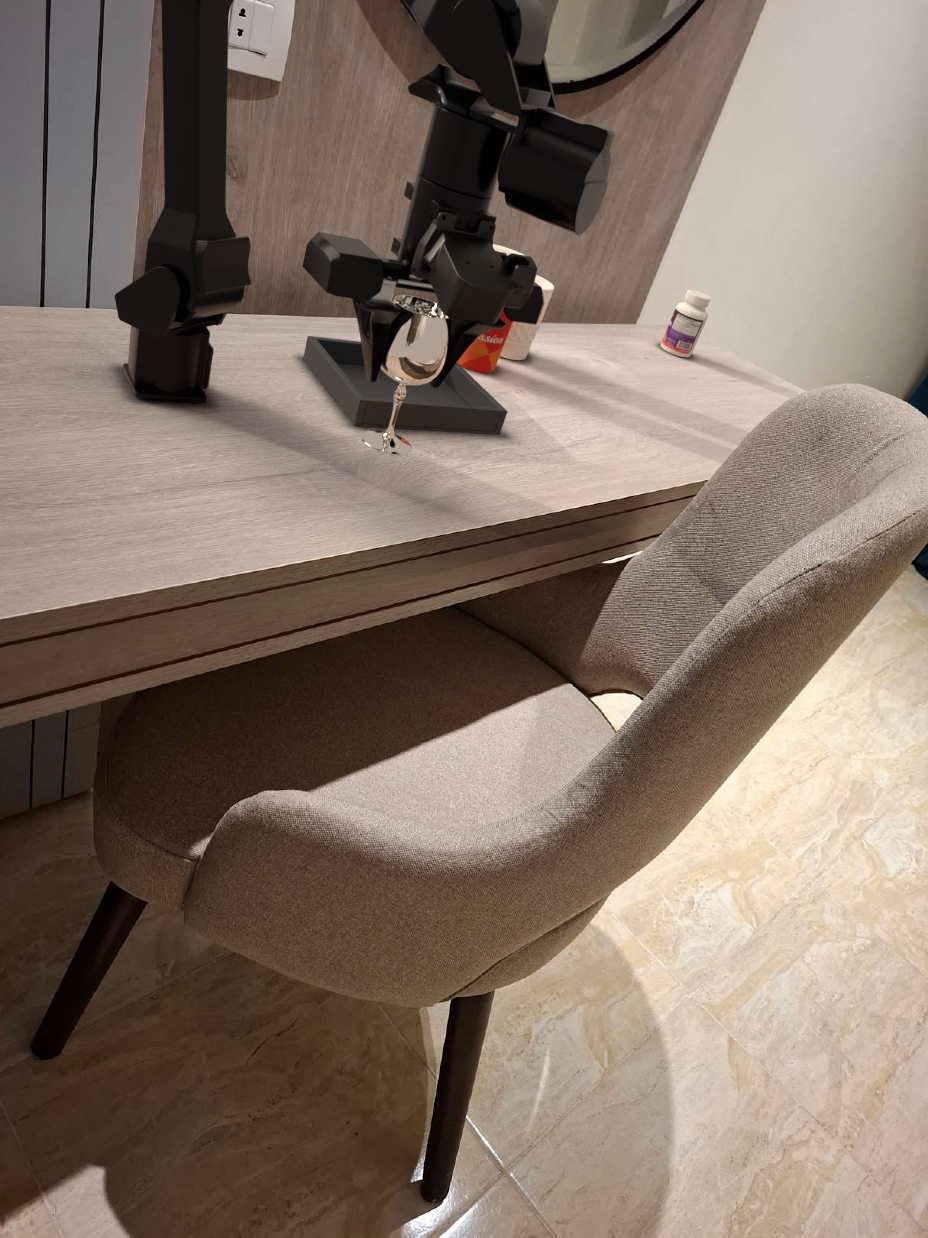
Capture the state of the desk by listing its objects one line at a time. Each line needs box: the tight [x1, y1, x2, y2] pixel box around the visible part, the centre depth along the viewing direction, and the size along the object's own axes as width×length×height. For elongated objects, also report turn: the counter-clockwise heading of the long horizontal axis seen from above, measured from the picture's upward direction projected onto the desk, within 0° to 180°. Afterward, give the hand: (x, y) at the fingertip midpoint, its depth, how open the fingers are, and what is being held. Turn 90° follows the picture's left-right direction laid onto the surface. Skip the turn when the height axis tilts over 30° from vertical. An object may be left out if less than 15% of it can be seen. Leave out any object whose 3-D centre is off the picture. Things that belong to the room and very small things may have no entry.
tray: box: [302, 335, 508, 435], centre depth 99 cm, size 18×16×3 cm
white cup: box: [499, 274, 555, 361], centre depth 121 cm, size 8×8×10 cm
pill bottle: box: [660, 289, 712, 358], centre depth 148 cm, size 5×5×10 cm
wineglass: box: [361, 294, 451, 457], centre depth 74 cm, size 6×6×12 cm
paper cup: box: [457, 243, 526, 374], centre depth 112 cm, size 8×8×14 cm
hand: (402, 383), depth 75 cm, fingers closed on wineglass, 5 cm apart
